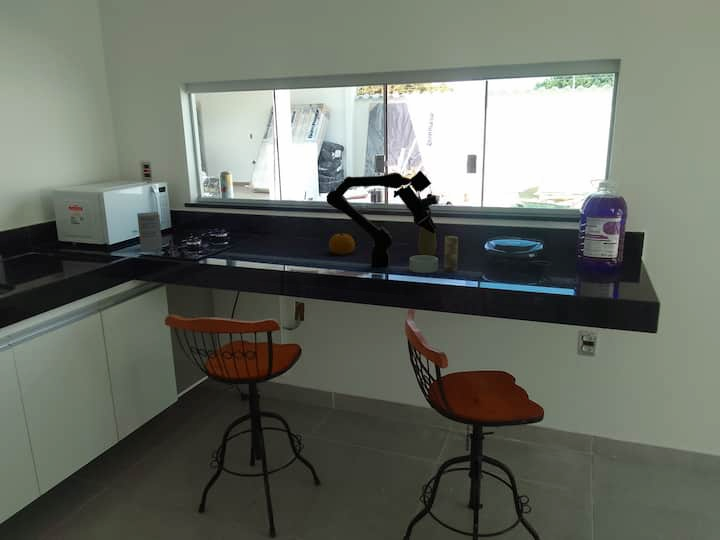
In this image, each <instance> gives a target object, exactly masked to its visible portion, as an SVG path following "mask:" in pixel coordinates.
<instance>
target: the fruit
mask: <svg viewBox="0 0 720 540" xmlns="http://www.w3.org/2000/svg"><path fill="white" fill-rule="evenodd" d="M328 247H329V251H330V252H332V254H335V255H339V256H341V255H349V254H351V253H353V251H354V250H355V247H356V243H355V240H354V238H353V237H352V236H351V235H350V234H348V233H343V231H341V233H336V234H333V236H331V238H330V239H329V242H328Z"/></svg>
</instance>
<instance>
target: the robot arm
mask: <svg viewBox="0 0 720 540" xmlns="http://www.w3.org/2000/svg"><path fill="white" fill-rule="evenodd" d="M431 184H432V182H431V180H429V178H428V177H427V176H426V175H425V174H424V173H423V172H422V170H419V171H418V172H417V173H416V174H414V175H413V176H412V177H411V178H409V177H405V176H403V175H402V174H401V173H399V172H392V173H386V174H383V175H376V176H374V175H373V176H367V175H366V176H347V177H345V178H344V179H343V181H342V182H341V183H340V184H339V185H338V186H337V188H336V189H332V190H330V191H329V193H327V195H326V203H327V204H328V206H329V205H330V206H332V207H333V208H334V209H336V210H339V211H340V212H343V213H344V214H345V215H347V216H348V218H350V219H351V220H352V221H353V222H355V223H356V224H357V225H358V226H359V227H360V228H362V229H363V230H364V231H366V232H367V234H369V235H370V237H371V238H372V239H373V241H374V242H373V243H372V248H371V265H370V267H371V268H387V267H388V266H389V265H390V253H389V250H388V249H389V248H390V247H391V246H392V244H393V240H392V239H393V238H392V235H391V231H389V230H387V229H386V228H385V226H384V225H382V226H380V227H379V226H376V225H375V224H374V223H373V222H371V221H370V220H369V218H367V217H366V216H364V215H363V214H362V213H361V212H359V210H357V209H356V208H355V207H354V206H352V204H351V203H350V202H349V201H348V199H347V198H346V197H345V193H347V192H348V190H349V189H350V188H354V187H356V188H357V187H359V188H360V187H384V188H389V189H397V190H393V199H394V198H397V197H399V198H400V200H401V201H402V203H404V205H405V207H406V209H407V210H409V212H411V214H412V216H413V220H412V221H413V222H414V223H415V225H417V226H418V227H420V228H421V227H422V228H424V229H426V230H428V231H429V232H431V233H433V234H434V233H435V234H436V229H437V226H436V225H435V223H434V220H433V218H432V216H431V215H432V210H431V207H430V206H433V205H437V204H438V200H437V195H436V194H432V193H428V194H426V197H424V198H421V197H420V196H418V195H417V194H416V193H417V192H419V193H422V192H423V191H424V190H425V189H427V188H428V187H429V186H431ZM404 186H405V187H404ZM412 188H413V189H412Z"/></svg>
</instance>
